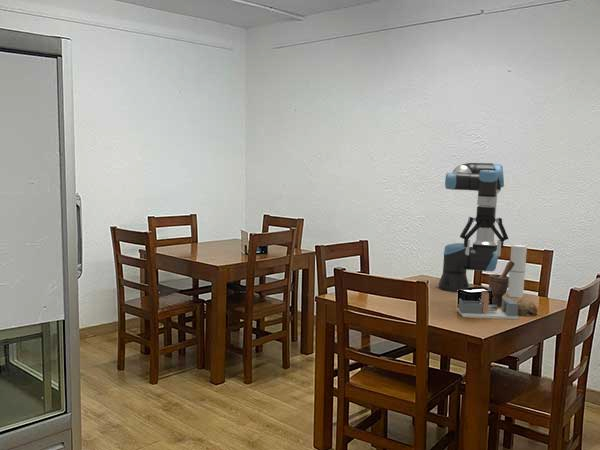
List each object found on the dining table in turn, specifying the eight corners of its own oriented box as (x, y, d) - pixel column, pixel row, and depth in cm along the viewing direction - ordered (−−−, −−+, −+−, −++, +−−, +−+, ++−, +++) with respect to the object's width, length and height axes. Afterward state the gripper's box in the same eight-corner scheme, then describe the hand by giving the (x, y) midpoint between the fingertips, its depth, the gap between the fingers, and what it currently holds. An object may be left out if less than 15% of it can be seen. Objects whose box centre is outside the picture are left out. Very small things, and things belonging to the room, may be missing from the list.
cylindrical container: (507, 296, 300) (511, 246, 298) (507, 293, 307) (511, 244, 304) (523, 298, 298) (527, 247, 295) (522, 295, 305) (526, 245, 302)
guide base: (456, 309, 271) (457, 295, 270) (509, 312, 270) (510, 297, 270) (463, 317, 259) (464, 302, 258) (518, 319, 258) (519, 304, 258)
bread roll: (517, 324, 265) (523, 309, 261) (506, 308, 274) (511, 294, 270) (537, 323, 268) (543, 308, 264) (525, 307, 276) (531, 293, 272)
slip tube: (461, 309, 267) (462, 290, 266) (494, 311, 267) (495, 291, 266) (463, 312, 263) (465, 292, 262) (497, 313, 262) (498, 293, 261)
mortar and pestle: (497, 299, 293) (500, 258, 291) (514, 303, 287) (517, 261, 284) (483, 302, 286) (486, 260, 284) (500, 306, 279) (503, 263, 277)
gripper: (459, 206, 259) (456, 255, 262) (518, 208, 259) (514, 257, 262) (454, 204, 267) (451, 252, 269) (512, 206, 267) (508, 254, 270)
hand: (482, 255), depth 266 cm, fingers open, 13 cm apart
